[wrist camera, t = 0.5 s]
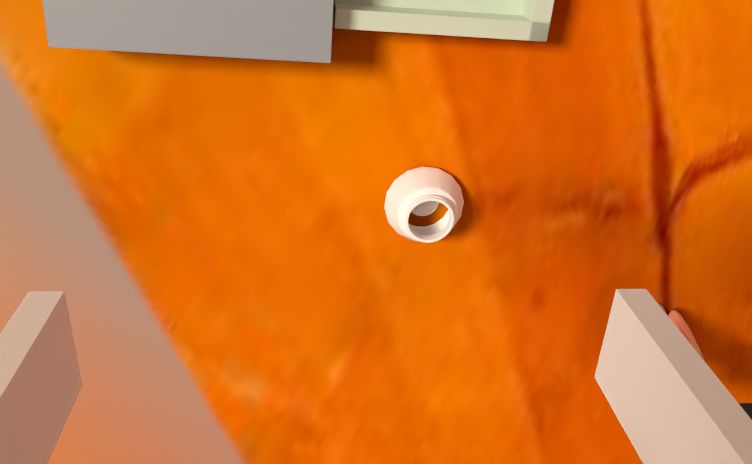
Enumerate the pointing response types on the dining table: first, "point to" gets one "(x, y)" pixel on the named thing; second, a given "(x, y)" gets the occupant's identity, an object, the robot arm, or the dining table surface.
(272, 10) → the grey drawer casing
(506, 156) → the dining table surface
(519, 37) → the tray
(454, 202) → the white jar
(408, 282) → the dining table surface
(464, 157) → the dining table surface
